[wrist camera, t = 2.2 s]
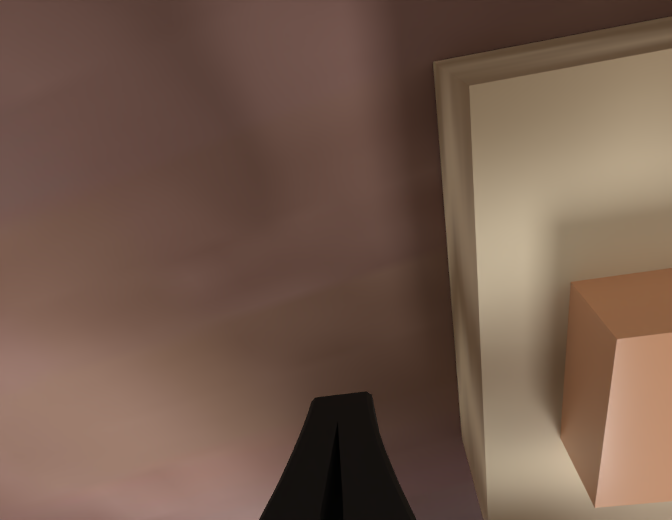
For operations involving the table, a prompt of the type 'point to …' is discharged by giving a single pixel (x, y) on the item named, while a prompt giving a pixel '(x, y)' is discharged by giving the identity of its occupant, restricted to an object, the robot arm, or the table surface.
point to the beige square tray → (546, 238)
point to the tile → (620, 387)
